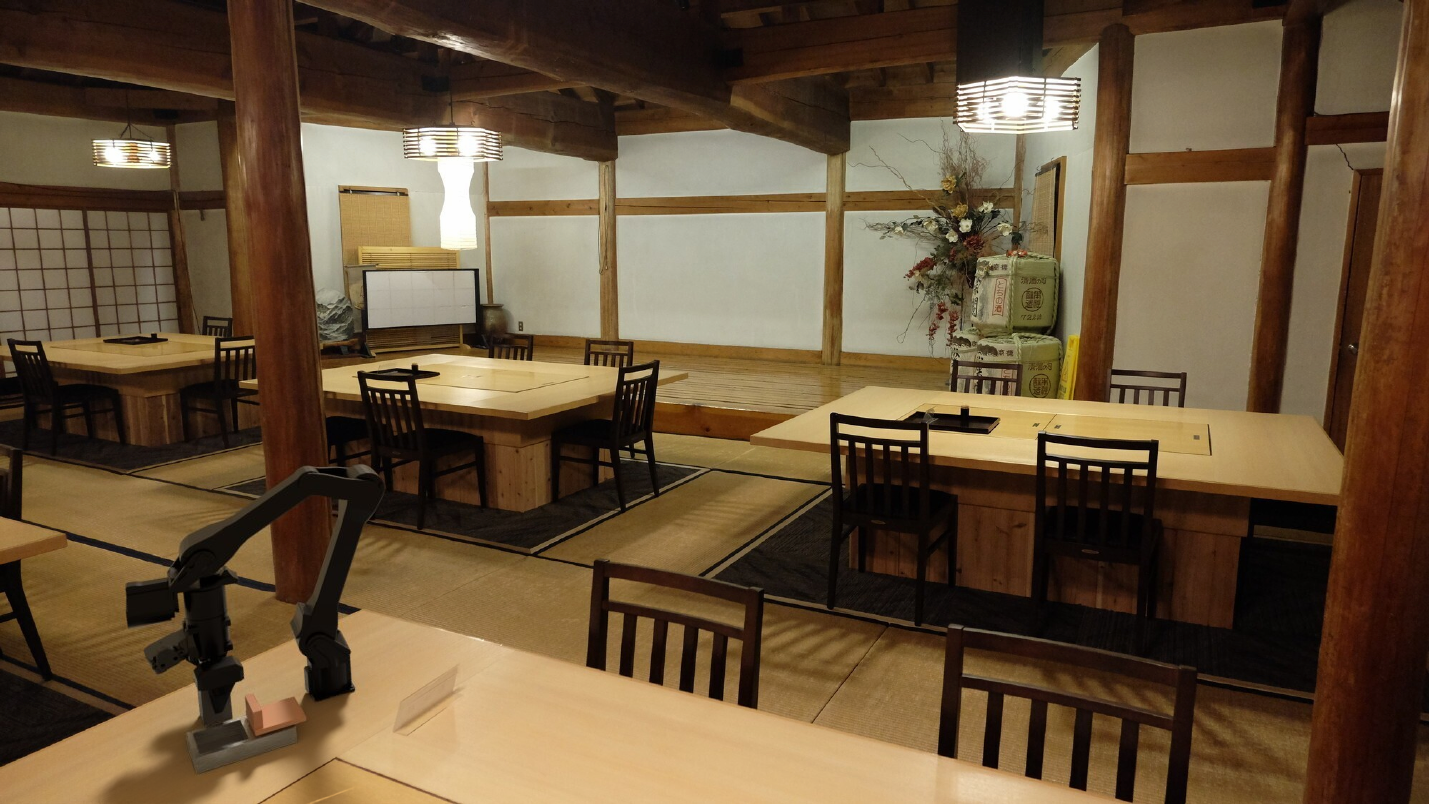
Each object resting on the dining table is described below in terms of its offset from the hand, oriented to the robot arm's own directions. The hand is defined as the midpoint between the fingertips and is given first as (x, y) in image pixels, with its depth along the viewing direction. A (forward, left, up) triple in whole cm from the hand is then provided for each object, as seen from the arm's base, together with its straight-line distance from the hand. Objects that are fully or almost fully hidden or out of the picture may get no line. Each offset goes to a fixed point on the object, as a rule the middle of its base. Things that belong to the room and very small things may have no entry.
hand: (215, 703), depth 138 cm
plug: (0, 0, -2) cm, 2 cm away
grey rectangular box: (-2, +11, -2) cm, 11 cm away
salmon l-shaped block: (-7, +11, +1) cm, 13 cm away
